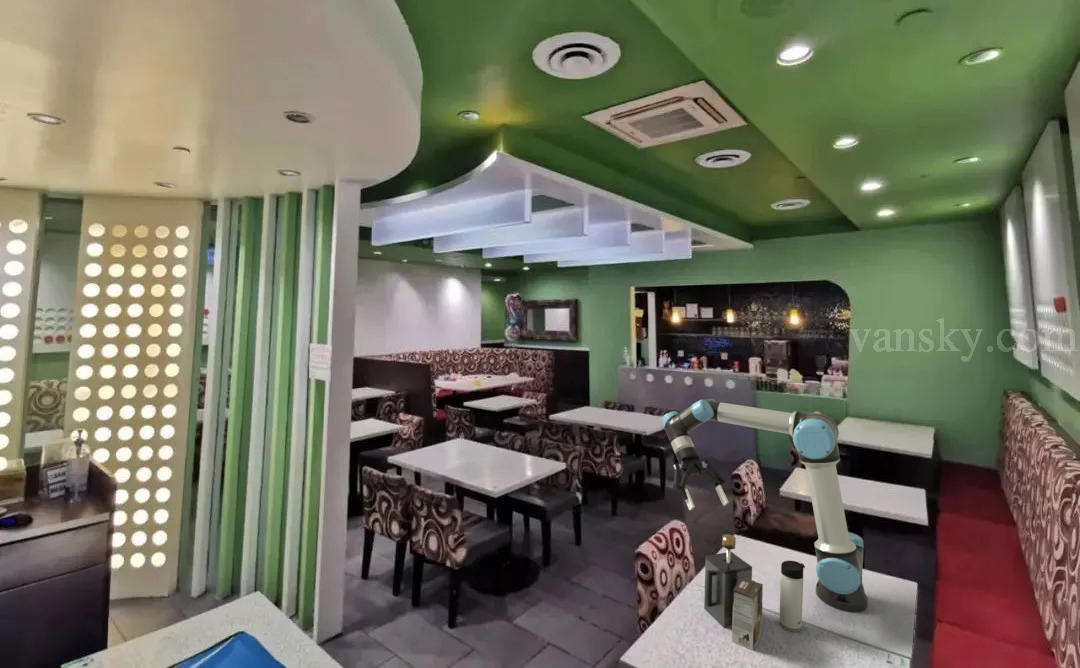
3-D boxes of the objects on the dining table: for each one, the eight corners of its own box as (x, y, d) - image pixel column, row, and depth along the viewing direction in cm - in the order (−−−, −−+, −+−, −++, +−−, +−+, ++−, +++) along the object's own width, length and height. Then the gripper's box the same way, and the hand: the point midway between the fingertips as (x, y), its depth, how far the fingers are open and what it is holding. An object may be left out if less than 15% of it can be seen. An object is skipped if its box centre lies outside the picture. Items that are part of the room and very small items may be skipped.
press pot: (729, 603, 163) (731, 551, 162) (750, 622, 153) (752, 566, 152) (697, 610, 159) (698, 556, 158) (716, 629, 150) (718, 572, 149)
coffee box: (740, 626, 151) (741, 576, 151) (762, 635, 147) (763, 583, 146) (730, 641, 144) (732, 588, 143) (753, 651, 140) (755, 597, 139)
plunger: (729, 600, 161) (731, 530, 160) (745, 613, 154) (747, 541, 153) (709, 603, 159) (711, 533, 158) (724, 617, 152) (726, 544, 151)
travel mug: (805, 633, 148) (807, 570, 147) (782, 630, 149) (784, 567, 148) (799, 621, 154) (801, 559, 153) (776, 618, 155) (778, 557, 154)
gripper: (709, 453, 185) (734, 507, 172) (651, 458, 178) (672, 514, 165) (718, 443, 180) (745, 497, 166) (659, 448, 173) (682, 505, 159)
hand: (709, 506), depth 165 cm, fingers open, 13 cm apart
